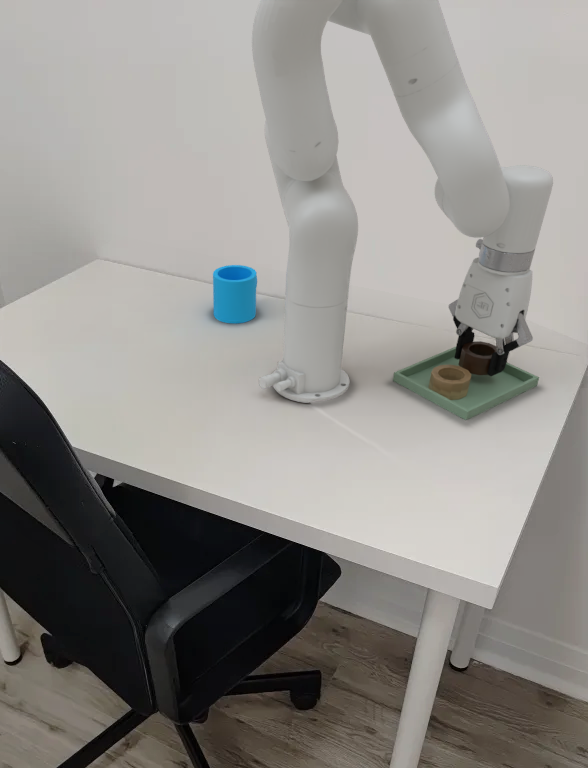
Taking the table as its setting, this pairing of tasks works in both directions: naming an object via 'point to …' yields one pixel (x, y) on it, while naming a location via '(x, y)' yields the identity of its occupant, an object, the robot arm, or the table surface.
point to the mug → (234, 293)
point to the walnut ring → (476, 357)
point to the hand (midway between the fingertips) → (478, 364)
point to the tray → (481, 388)
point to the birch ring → (450, 381)
